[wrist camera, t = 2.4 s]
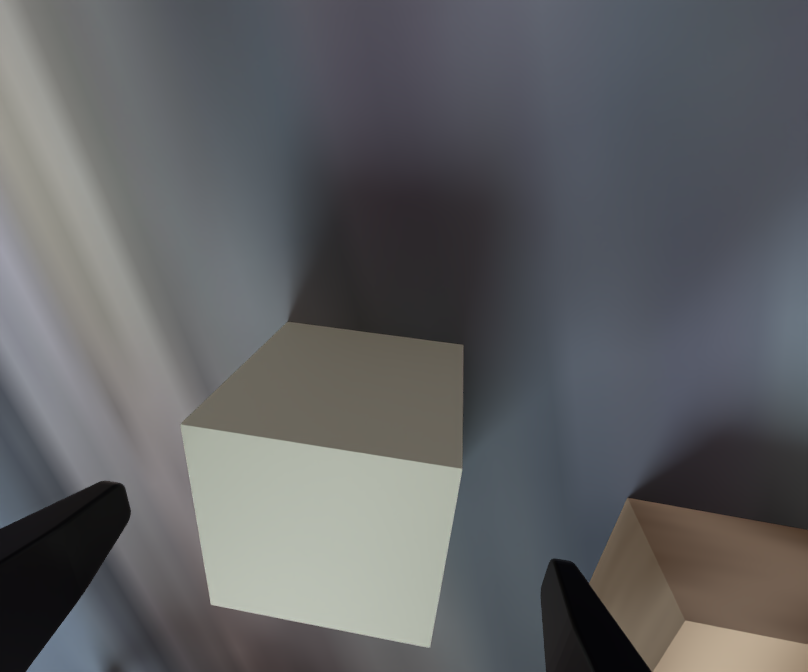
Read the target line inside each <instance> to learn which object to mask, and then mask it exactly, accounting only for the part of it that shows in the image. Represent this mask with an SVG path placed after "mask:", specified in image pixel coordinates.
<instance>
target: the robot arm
mask: <svg viewBox="0 0 808 672" xmlns="http://www.w3.org/2000/svg"><path fill="white" fill-rule="evenodd" d="M130 515H131V509H130V505H129V501H128V497H127V494H126V490H125V487H124V485H122V484H121V483H117V482H111V481H101V482H98V483H96V484H94V485H92V486H90V487H87V488H85V489H83V490H81V491H79V492H77V493H75V494H73V495H71V496H69V497H66V498H64V499H62V500H60V501H58V502H56V503H54V504H52V505H50V506H48V507H45V508H43V509H41V510H39V511H37V512H35V513H33V514H31V515H29V516H27V517H24V518H22V519H20V520H18V521H16V522H14V523H12V524H10V525H8V526H6V527H3V528H1V529H0V672H26V670H27V669H28V668H29V666H30V665H31V664H32V662H33V661H34V660H35V658H36V657H37V656H38V654H39V653H40V652H41V650H42V649H43V648H44V646H45V645H46V644H47V642H48V641H49V640H50V638H51V637H52V636H53V634H54V633H55V631H56V630H57V629H58V627H59V626H60V625H61V623H62V622H63V621H64V619H65V618H66V617H67V615H68V614H69V613H70V611H71V610H72V609H73V607H74V606H75V604H76V603H77V602H78V600H79V599H80V597H81V596H82V595H83V593H84V592H85V590H86V589H87V587H88V585H89V584H90V582H91V581H92V579H93V578H94V576H95V574H96V573H97V571H98V570H99V568H100V566H101V565H102V563H103V562H104V560H105V558H106V557H107V555H108V554H109V552H110V550H111V549H112V547H113V546H114V544H115V542H116V541H117V539H118V538H119V536H120V534H121V533H122V531H123V530H124V528H125V526H126V525H127V523H128V521H129V518H130ZM541 608H542V622H543V636H544V649H545V663H546V672H652V671H651V670H650V668H649V667H648V666H647V664H646V663H645V661H644V660H643V659H642V657H641V656H640V654H639V653H638V652H637V650H636V649H635V647H634V646H633V645H632V643H631V642H630V640H629V639H628V638H627V636H626V635H625V633H624V632H623V631H622V629H621V628H620V626H619V625H618V624H617V622H616V621H615V619H614V618H613V617H612V615H611V614H610V612H609V611H608V610H607V608H606V607H605V605H604V604H603V603H602V601H601V600H600V598H599V597H598V596H597V594H596V593H595V591H594V590H593V589H592V587H591V586H590V584H589V583H588V582H587V580H586V579H585V577H584V576H583V575H582V573H581V572H580V570H579V569H578V568H577V566H576V565H575V564H574V563H573V562H571V561H567V560H561V559H551V560H550V562H549V565H548V568H547V571H546V574H545V577H544V580H543V583H542V586H541Z"/></svg>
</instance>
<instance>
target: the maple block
mask: <svg viewBox="0 0 808 672" xmlns="http://www.w3.org/2000/svg"><path fill="white" fill-rule="evenodd" d="M589 584H590V586H591V587H592V589H593V590H594V591H595V593H596V594H597V596H598V597H599V598H600V600H601V601H602V603H603V604H604V605H605V607H606V608H607V610H608V611H609V612H610V614H611V615H612V617H613V618H614V619H615V621H616V622H617V624H618V625H619V626H620V628H621V629H622V631H623V632H624V633H625V635H626V636H627V638H628V639H629V640H630V642H631V643H632V645H633V646H634V647H635V649H636V650H637V652H638V653H639V654H640V656H641V657H642V659H643V660H644V661H645V663H646V664H647V666H648V667H649V668H650V670H651V671H652V672H808V530H805V529H800V528H794V527H788V526H783V525H777V524H772V523H766V522H760V521H755V520H749V519H744V518H738V517H732V516H727V515H721V514H716V513H710V512H704V511H699V510H693V509H688V508H682V507H676V506H671V505H665V504H660V503H654V502H648V501H643V500H637V499H632V498H627V500H626V502H625V504H624V507H623V509H622V511H621V513H620V516H619V518H618V520H617V522H616V525H615V527H614V529H613V531H612V533H611V536H610V538H609V540H608V542H607V545H606V547H605V549H604V551H603V554H602V556H601V558H600V560H599V562H598V565H597V567H596V569H595V571H594V574H593V576H592V578H591V580H590V583H589Z"/></svg>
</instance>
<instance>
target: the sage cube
mask: <svg viewBox="0 0 808 672" xmlns="http://www.w3.org/2000/svg"><path fill="white" fill-rule="evenodd" d="M180 426H181V432H182V438H183V444H184V449H185V455H186V461H187V467H188V473H189V479H190V485H191V490H192V496H193V502H194V508H195V514H196V520H197V526H198V532H199V537H200V543H201V549H202V555H203V561H204V567H205V573H206V578H207V584H208V590H209V596H210V602H211V605H215V606H220V607H225V608H230V609H235V610H240V611H245V612H250V613H255V614H260V615H265V616H270V617H275V618H280V619H285V620H291V621H296V622H301V623H306V624H311V625H316V626H321V627H326V628H331V629H336V630H341V631H346V632H351V633H356V634H362V635H367V636H372V637H377V638H382V639H387V640H392V641H397V642H402V643H407V644H412V645H417V646H422V647H427V648H430V644H431V639H432V633H433V628H434V622H435V617H436V611H437V606H438V600H439V595H440V589H441V584H442V578H443V573H444V567H445V562H446V556H447V551H448V545H449V540H450V534H451V529H452V523H453V518H454V512H455V507H456V501H457V496H458V490H459V485H460V479H461V474H462V457H463V345H460V344H453V343H445V342H438V341H430V340H423V339H415V338H407V337H400V336H392V335H385V334H377V333H369V332H362V331H354V330H347V329H339V328H332V327H324V326H316V325H309V324H301V323H294V322H287V323H286V324H285V325H284V326H283V327H282V328H281V329H279V330H278V331H277V332H276V333H275V334H274V335H273V336H272V337H271V338H270V339H269V340H268V341H267V342H266V343H265V344H264V345H263V346H262V347H261V348H260V349H259V350H257V351H256V352H255V353H254V354H253V355H252V356H251V357H250V358H249V359H248V360H247V361H246V362H245V363H244V364H243V365H242V366H241V367H240V368H239V369H238V370H237V371H235V372H234V373H233V374H232V375H231V376H230V377H229V378H228V379H227V380H226V381H225V382H224V383H223V384H222V385H221V386H220V387H219V388H218V389H217V390H216V391H215V392H213V393H212V394H211V395H210V396H209V397H208V398H207V399H206V400H205V401H204V402H203V403H202V404H201V405H200V406H199V407H198V408H197V409H196V410H195V411H194V412H193V413H192V414H190V415H189V416H188V417H187V418H186V419H185V420H184V421H183V422H182V423H181V424H180Z"/></svg>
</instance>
